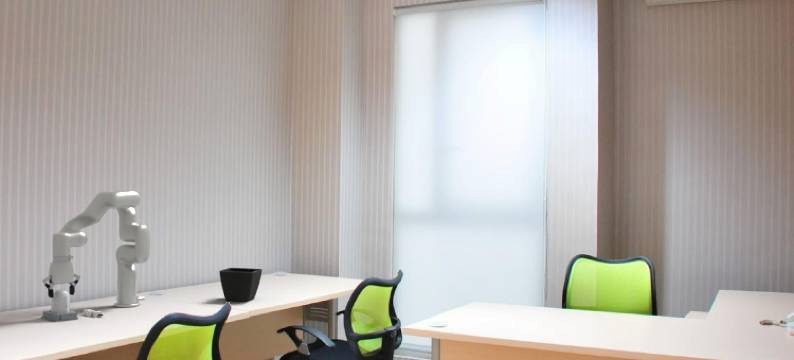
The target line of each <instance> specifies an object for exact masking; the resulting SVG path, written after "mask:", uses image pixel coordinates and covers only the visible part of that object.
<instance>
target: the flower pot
mask: <svg viewBox="0 0 794 360" xmlns="http://www.w3.org/2000/svg"><path fill="white" fill-rule="evenodd" d="M262 273H263V269H262V268H261V269H260V268H247V267H243V268H242V267H228V268H224V269H221V270H219V280H220V284H221V286H220V287H221V290H222V294H223V297H224V300H225V301H228V302H245V303H247V302H250V301H252V300H255V298H256V295H257V292H258V289H259V286H260V283H261V282H260V281H261V277H262Z"/></svg>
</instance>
